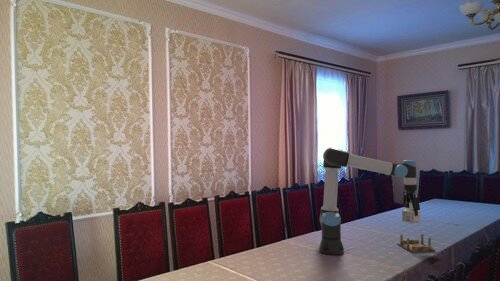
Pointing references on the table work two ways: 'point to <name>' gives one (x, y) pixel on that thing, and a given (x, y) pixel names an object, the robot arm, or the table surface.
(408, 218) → the container
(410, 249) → the tray
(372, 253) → the table surface
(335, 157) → the robot arm
